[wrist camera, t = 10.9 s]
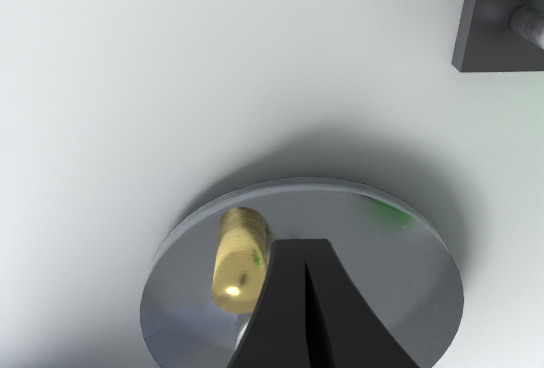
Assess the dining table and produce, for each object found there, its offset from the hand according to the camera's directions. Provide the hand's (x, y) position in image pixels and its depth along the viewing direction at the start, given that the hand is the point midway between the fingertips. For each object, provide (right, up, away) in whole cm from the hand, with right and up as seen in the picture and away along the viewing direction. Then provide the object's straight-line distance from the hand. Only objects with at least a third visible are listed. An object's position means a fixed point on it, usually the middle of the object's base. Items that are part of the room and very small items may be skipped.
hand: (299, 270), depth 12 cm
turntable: (+1, -4, +14) cm, 14 cm away
